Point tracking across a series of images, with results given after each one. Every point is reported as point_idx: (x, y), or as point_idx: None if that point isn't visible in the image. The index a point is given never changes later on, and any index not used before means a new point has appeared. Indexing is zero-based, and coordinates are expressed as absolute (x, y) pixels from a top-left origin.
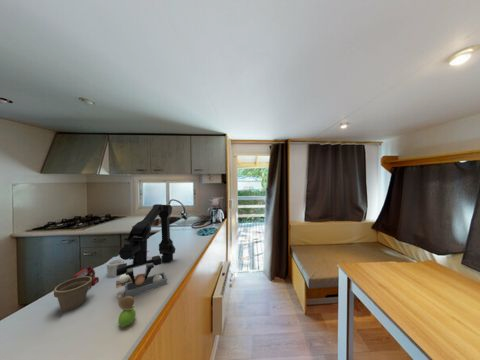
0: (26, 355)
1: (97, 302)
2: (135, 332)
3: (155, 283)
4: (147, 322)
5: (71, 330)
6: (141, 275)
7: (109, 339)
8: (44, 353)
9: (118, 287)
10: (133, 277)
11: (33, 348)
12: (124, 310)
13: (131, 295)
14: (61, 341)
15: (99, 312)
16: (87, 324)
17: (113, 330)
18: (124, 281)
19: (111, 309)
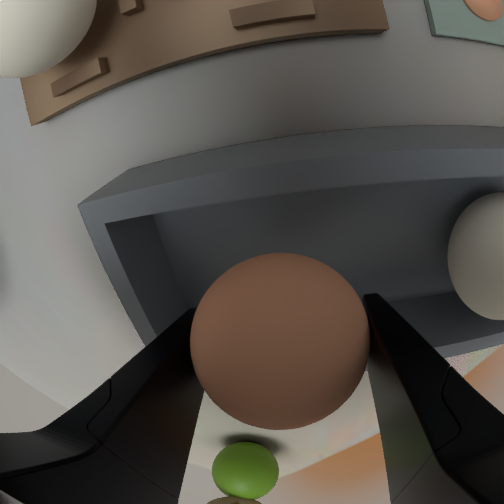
0: (26, 382)
1: (15, 241)
2: (284, 466)
3: (451, 351)
4: (325, 457)
5: (54, 371)
6: (305, 424)
7: (208, 455)
8: (59, 402)
9: (46, 116)
10: (179, 464)
11: (19, 371)
12: (229, 495)
13: None
14: (64, 393)
15: (82, 339)
16: (86, 378)
17: (207, 442)
18: (57, 63)
19: (131, 352)
